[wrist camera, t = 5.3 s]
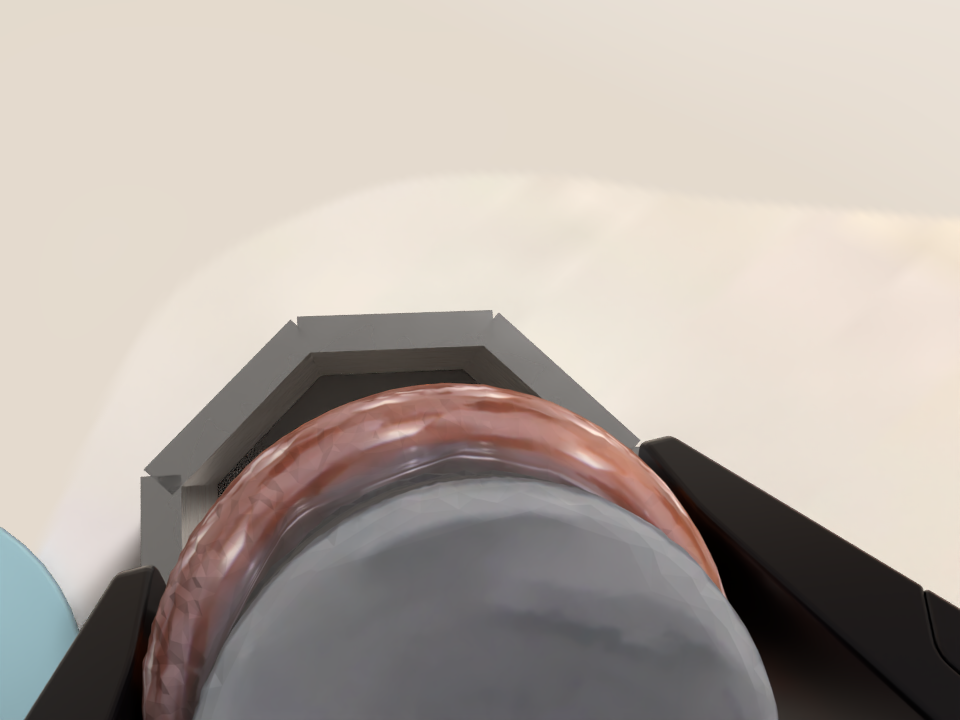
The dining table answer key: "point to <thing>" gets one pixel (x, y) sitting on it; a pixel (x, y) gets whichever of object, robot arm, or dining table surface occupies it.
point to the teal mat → (29, 627)
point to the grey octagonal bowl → (336, 351)
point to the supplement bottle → (449, 578)
